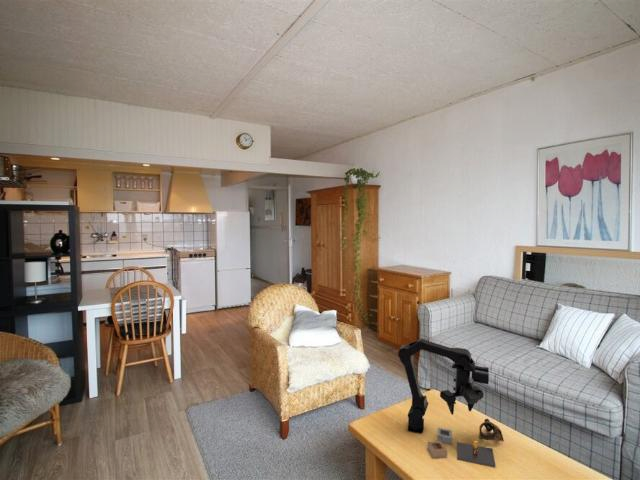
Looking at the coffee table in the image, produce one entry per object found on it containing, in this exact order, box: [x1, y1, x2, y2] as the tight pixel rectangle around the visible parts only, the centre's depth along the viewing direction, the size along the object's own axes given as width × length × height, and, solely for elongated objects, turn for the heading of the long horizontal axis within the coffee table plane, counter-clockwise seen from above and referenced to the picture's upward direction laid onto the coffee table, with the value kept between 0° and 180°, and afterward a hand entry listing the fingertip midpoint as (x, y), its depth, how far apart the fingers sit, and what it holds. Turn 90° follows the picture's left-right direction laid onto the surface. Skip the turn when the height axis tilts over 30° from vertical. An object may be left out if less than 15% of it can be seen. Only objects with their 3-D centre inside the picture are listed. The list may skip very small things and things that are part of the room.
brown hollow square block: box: [426, 440, 448, 459], centre depth 149 cm, size 6×6×3 cm
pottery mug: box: [478, 418, 504, 442], centre depth 158 cm, size 12×10×8 cm
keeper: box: [456, 439, 496, 468], centre depth 147 cm, size 14×10×6 cm
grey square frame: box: [437, 427, 453, 446], centre depth 157 cm, size 6×6×3 cm
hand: (460, 412), depth 156 cm, fingers open, 9 cm apart
